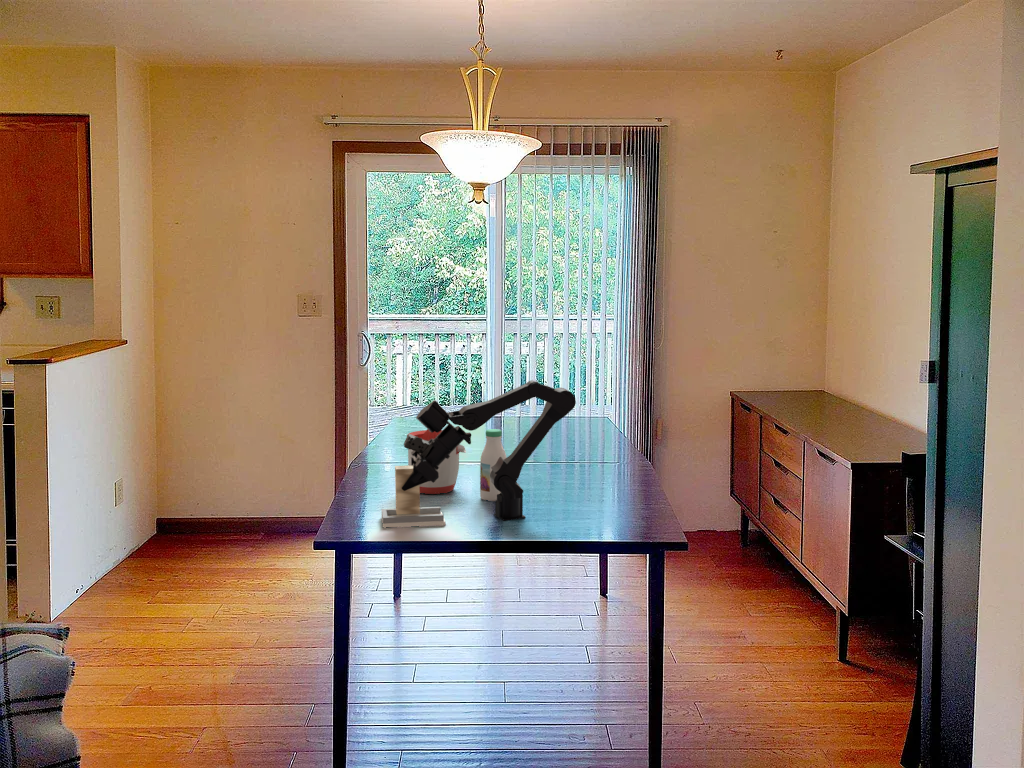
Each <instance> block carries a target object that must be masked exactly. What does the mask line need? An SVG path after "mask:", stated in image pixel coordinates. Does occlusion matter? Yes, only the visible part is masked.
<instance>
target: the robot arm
mask: <svg viewBox="0 0 1024 768" xmlns="http://www.w3.org/2000/svg"><path fill="white" fill-rule="evenodd" d="M533 398H536V399H540V400H541V401H544V402H545V404H544V407H543V410H542V411H541V414H540V416H539V417H538V418H537V419H536V421H535V422H534V423H533V425H532V426H531V427H530V429H529V430H528V431H527V432H526V434H525V435H524V437H523V438H522V439H521V440H520V442H519V443H518V445H517V446H516V447H515V448H514V449H513V451H512V452H511V454H509V455H508V456H506V457H507V458H506V459H503V458H502V457H499V459H498V461H497V463H496V464H495V465H494V466H493V467H491V469H492V471H491V474H490V479H491V482H492V483H493V485H494V486H495V488H496V489H497V490H499V491H500V494H497V500H496V501H494V502H495V503H494V504H495V505H494V506H495V507H494V508H495V509H494V513H493V516H495V517H496V518H498V519H499V520H502V521H504V522H507V521H508V522H509V521H514V520H522V519H526V515H523V514H524V513H523V512H524V511H523V509H524V508H523V506H524V504H523V503H524V502H523V501H524V499H523V497H524V495H523V494H524V490H523V488H522V487H521V486H520V484H519V483H518V482H517V481H518V480H519V477H520V476H521V472H522V470H523V466H524V465H525V463H526V462H527V461H528V460H529V458H531V456H532V454H533V453H534V452H535V450H537V447H538V446H539V445H540V444H541V442H542V441H543V440H544V438H545V437H546V436H547V434H548V433H549V432H550V430H551V429H552V428H553V427H554V425H555V424H556V423H558V422H559V421H561V420H562V419H564V417H566V416H567V415H568V414H569V413H570V412H571V411H572V410H573V409H574V408H575V407H576V404H577V400H576V397H575V395H574V394H573V393H572V392H571V391H570V390H568V389H566V388H564V387H556V388H553V387H551V386H548V385H545V384H543V383H541V382H538V381H536V380H533V379H532V380H529V381H527V382H526V383H524V384H522V385H520V386H518V387H516V388H513V389H511V390H509V391H507V392H504V393H502V394H500V395H497V396H496V397H494V398H492V399H489V400H486V401H481V402H476V403H472V404H471V403H470V404H467V405H465V406H462V407H461V408H460V409H459V410H453V411H450V412H449V411H448V412H447V411H446V410H445V409H444V408H443V407H442V406H441V405H440V404H439V402H438V401H437V400H436V399H433V400H432V402H430V403H428V404H427V405H426V406H424V407H422V409H421V410H420V411H419V412H418V413H417V415H416V417H415V419H416V420H417V421H419V422H420V424H422V425H423V426H424V427H425V428H426V430H427V429H428V430H429V431H430V432H431V433H433V432H434V431H435V432H437V433H438V432H440V431H441V430H442V431H441V432H440V433H439V435H438V436H437V437H436V438H435V439H433V438H432V439H430V440H429V441H428V442H427V441H425V440H423V439H422V438H419V437H418V436H413V435H411V434H409V433H407V434H408V435H407V434H406V438H405V440H404V443H403V447H404V448H405V449H406V450H408V449H411V450H413V451H412V452H411V454H412V455H413V456H415V458H414V459H413V458H412V457H411V465H413V472H412V473H411V475H410V476H409V478H408V479H407V481H406V482H405V483H404V485H403V486H402V490H404V491H406V490H408V489H410V488H413V487H415V486H418V485H420V484H423V483H425V482H428V481H432V482H433V483H434V482H435V481H436V480H437V479H438V478H439V473H438V471H437V469H438V468H439V467H438V466H439V465H440V464H441V463H442V462H443V461H444V460H445V459H446V458H447V459H448V458H449V457H450V453H451V452H452V451H453V450H454V449H455V448H456V447H457V446H458V445H459V444H460V445H461V443H462V442H463V441H465V442H466V443H467V445H471V444H472V439H471V438H472V433H471V431H476V430H477V429H479V428H480V427H481V426H483V425H485V424H487V422H488V421H490V420H491V419H492V418H494V417H495V416H496V415H498V414H500V413H503V412H505V411H507V410H510V409H511V408H514V407H515V406H518V405H520V404H522V403H524V402H526V401H529V400H531V399H533ZM452 423H453V424H452ZM454 425H457V426H454ZM462 428H463V429H462ZM464 429H465V430H467V431H470V432H466V431H465V430H464Z"/></svg>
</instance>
